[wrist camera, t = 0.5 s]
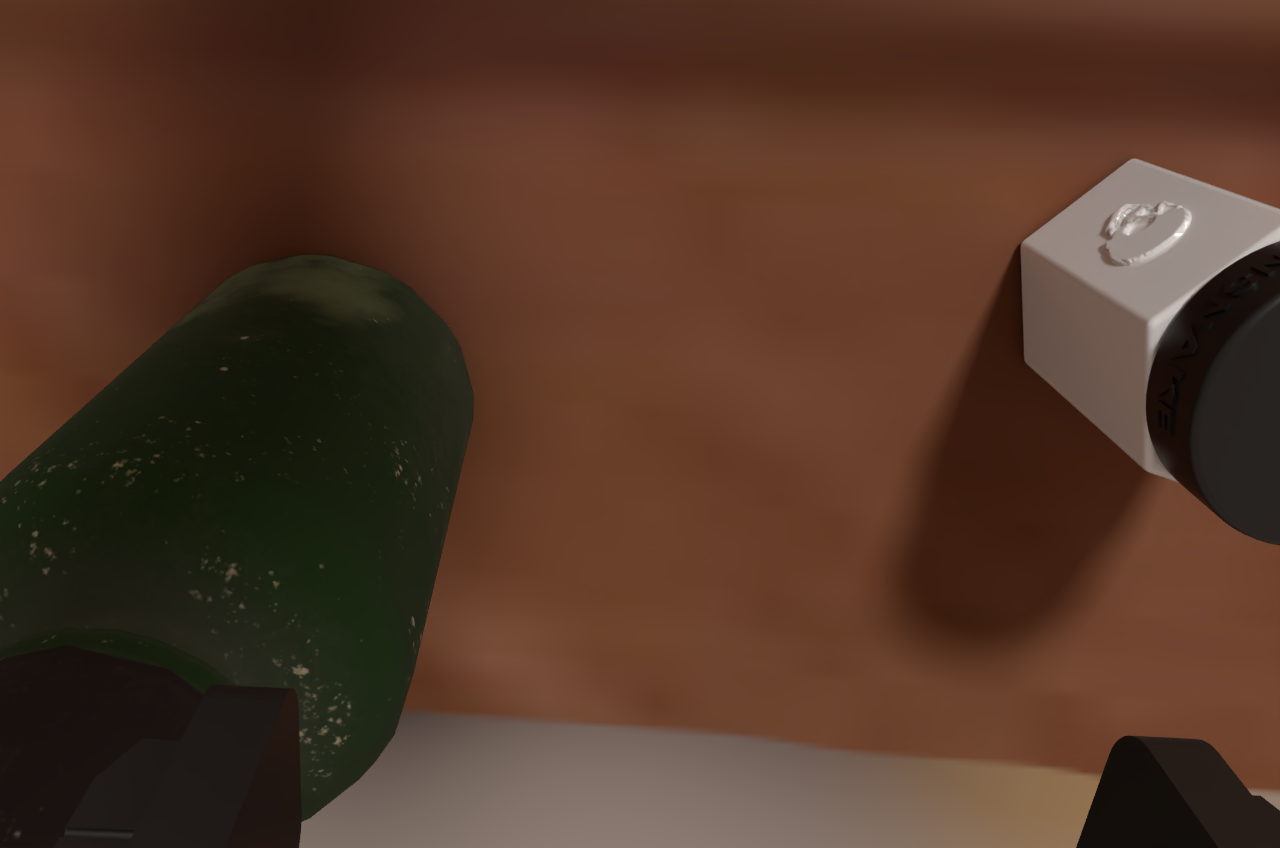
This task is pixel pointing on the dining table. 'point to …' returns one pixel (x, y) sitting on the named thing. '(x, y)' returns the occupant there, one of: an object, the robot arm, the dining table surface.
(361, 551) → the dark green tall piece
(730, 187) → the dining table surface
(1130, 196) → the jar
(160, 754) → the robot arm
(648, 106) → the dining table surface
